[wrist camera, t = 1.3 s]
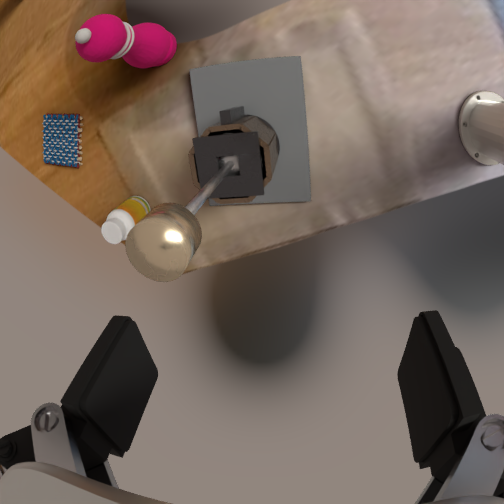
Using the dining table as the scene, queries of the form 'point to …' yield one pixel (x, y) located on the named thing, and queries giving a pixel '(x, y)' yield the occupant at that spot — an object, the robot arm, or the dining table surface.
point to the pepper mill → (124, 42)
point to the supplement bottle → (124, 219)
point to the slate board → (262, 114)
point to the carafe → (236, 143)
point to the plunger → (173, 231)
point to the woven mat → (62, 139)
